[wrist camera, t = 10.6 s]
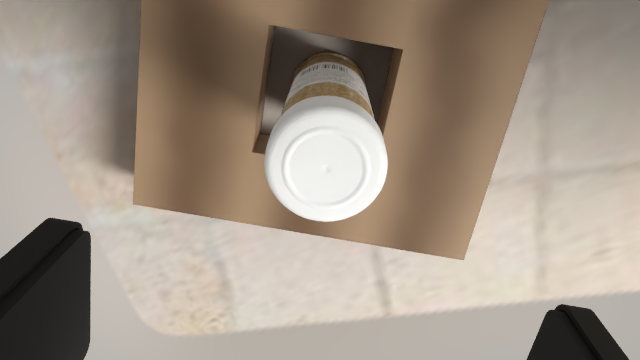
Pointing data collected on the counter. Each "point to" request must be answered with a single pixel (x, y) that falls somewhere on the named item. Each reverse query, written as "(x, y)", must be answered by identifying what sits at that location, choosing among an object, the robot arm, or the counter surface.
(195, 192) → the spice holder
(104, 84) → the counter surface
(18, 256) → the robot arm
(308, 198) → the sprinkles bottle
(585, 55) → the counter surface
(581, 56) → the counter surface
